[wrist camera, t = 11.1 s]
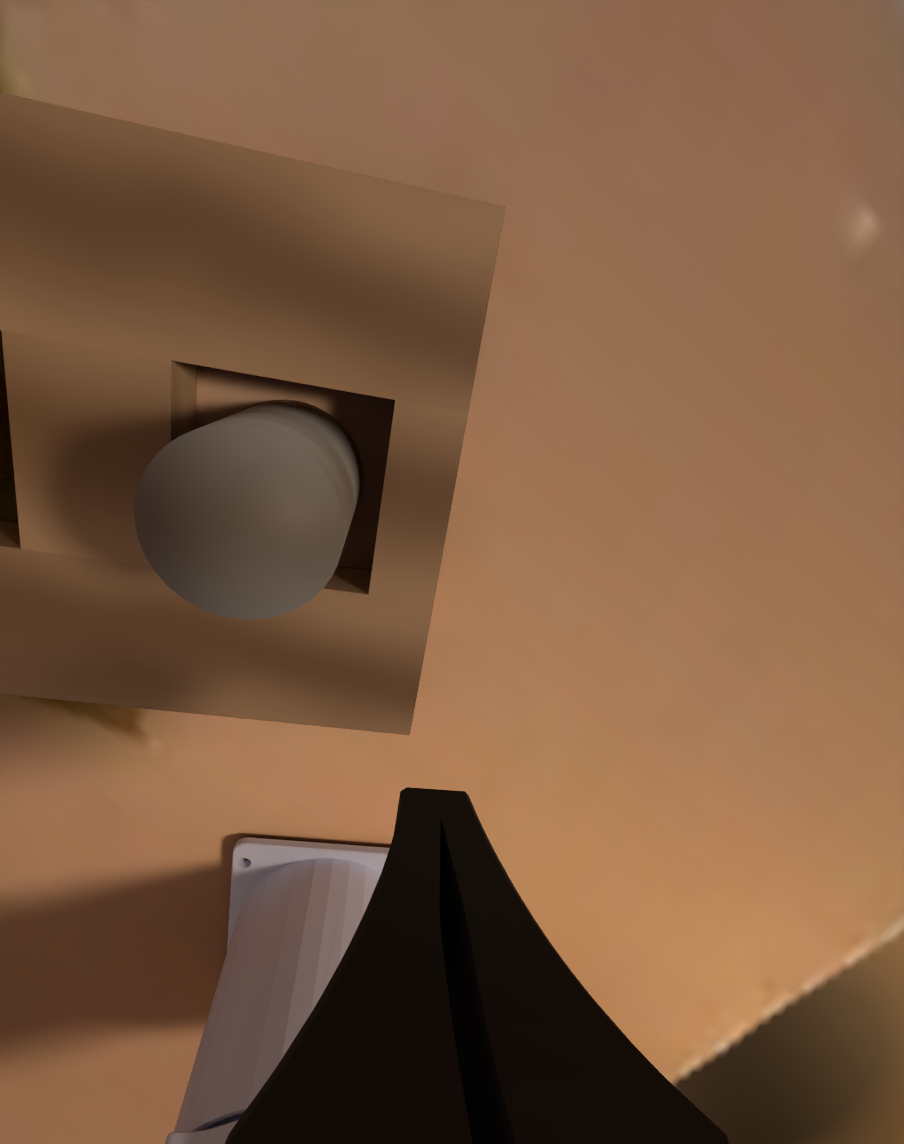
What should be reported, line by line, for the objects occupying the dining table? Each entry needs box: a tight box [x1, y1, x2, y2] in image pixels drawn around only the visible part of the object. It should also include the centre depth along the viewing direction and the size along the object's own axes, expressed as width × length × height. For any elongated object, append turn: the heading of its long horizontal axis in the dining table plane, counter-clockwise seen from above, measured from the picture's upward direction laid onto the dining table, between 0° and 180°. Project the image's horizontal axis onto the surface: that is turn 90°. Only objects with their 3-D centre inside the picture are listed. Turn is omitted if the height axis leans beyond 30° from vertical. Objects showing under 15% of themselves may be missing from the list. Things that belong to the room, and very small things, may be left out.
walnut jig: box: [0, 93, 505, 735], centre depth 15 cm, size 16×20×6 cm
